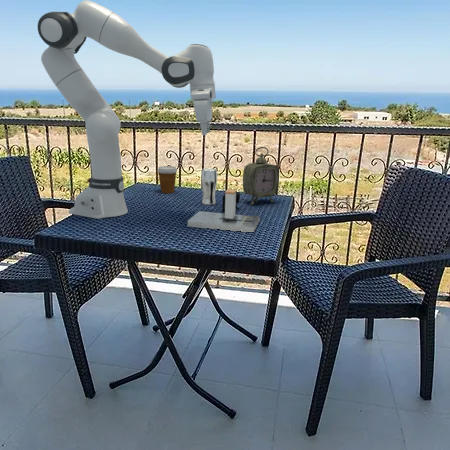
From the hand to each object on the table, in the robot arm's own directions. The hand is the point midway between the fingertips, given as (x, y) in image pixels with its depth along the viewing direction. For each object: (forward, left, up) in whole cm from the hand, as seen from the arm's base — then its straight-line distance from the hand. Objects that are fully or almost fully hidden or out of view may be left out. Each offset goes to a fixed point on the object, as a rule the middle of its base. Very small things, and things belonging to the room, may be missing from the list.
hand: (206, 133), depth 142 cm
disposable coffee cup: (-29, +35, -32) cm, 56 cm away
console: (+10, -7, -32) cm, 34 cm away
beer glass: (-4, +21, -32) cm, 39 cm away
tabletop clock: (+17, +30, -32) cm, 47 cm away
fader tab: (+12, -7, -29) cm, 32 cm away
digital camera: (+7, +14, -32) cm, 36 cm away
